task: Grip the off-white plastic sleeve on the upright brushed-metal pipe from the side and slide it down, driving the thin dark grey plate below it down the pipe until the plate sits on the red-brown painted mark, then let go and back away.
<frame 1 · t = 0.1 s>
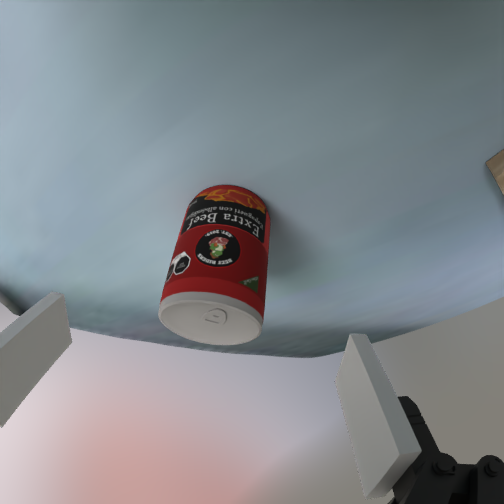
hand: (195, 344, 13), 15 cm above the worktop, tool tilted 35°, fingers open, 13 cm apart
canned food: (229, 213, 29), on the worktop
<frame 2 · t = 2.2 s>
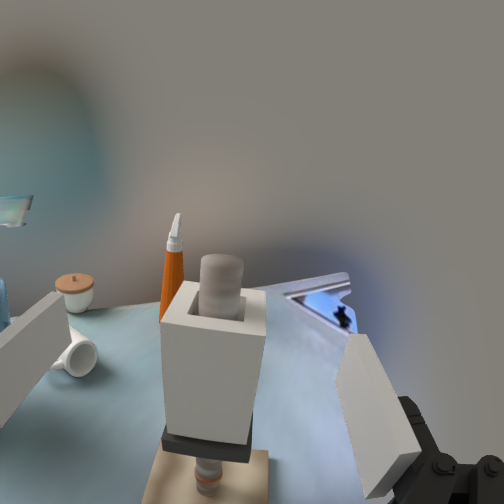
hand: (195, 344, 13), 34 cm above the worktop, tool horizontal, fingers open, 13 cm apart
spray bottle: (173, 319, 77), on the worktop
thin dark grey plate: (210, 422, 27), point 17 cm above the worktop, slide at 9.0 cm
pipe stand: (207, 493, 32), on the worktop
mug: (65, 368, 51), on the worktop
lidded jar: (77, 308, 73), on the worktop
sleeve: (214, 366, 25), point 24 cm above the worktop, slide at 9.5 cm
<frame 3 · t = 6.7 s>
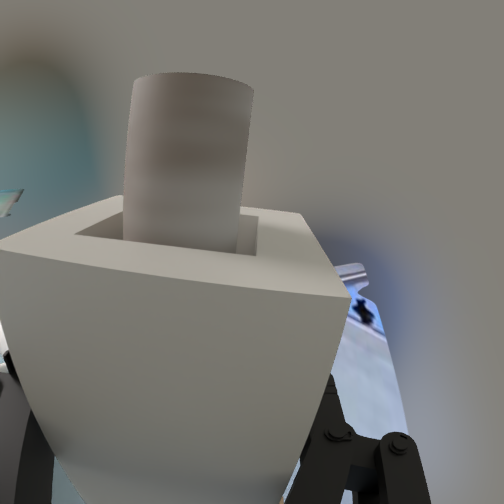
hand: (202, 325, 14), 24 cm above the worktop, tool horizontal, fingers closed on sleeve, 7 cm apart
sleeve: (178, 395, 10), point 24 cm above the worktop, slide at 9.5 cm, touching gripper
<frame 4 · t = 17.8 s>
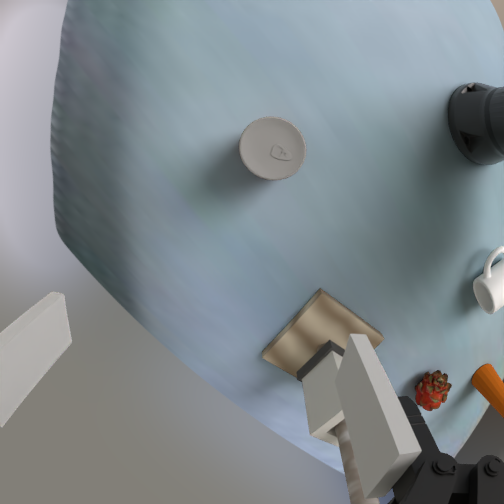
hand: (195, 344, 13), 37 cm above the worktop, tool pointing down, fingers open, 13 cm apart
canned food: (270, 150, 45), on the worktop
spray bottle: (484, 375, 58), on the worktop
thin dark grey plate: (331, 370, 47), point 8 cm above the worktop, slide at 0.2 cm, touching sleeve
dragon fruit: (427, 381, 58), on the worktop
pipe stand: (323, 343, 55), on the worktop
mug: (487, 268, 50), on the worktop
sleeve: (339, 399, 40), point 15 cm above the worktop, slide at 0.2 cm, touching thin dark grey plate
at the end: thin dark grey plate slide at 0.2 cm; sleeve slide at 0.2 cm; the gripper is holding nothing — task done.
